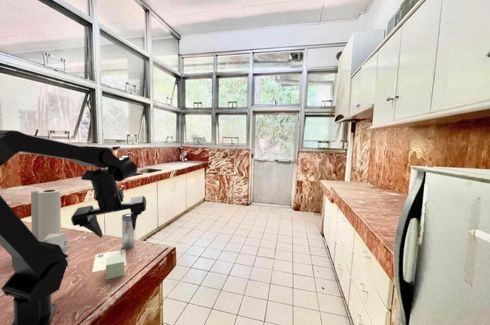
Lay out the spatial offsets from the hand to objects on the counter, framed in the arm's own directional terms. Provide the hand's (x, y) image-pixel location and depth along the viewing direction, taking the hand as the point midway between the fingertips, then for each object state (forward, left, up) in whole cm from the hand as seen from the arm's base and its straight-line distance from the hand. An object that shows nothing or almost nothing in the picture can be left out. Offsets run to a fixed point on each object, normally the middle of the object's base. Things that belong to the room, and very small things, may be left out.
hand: (118, 232), depth 67 cm
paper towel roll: (+24, +22, -11) cm, 34 cm away
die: (+15, +19, -11) cm, 27 cm away
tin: (+13, -3, -11) cm, 17 cm away
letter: (+5, +2, -11) cm, 12 cm away
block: (-4, +1, -11) cm, 12 cm away
